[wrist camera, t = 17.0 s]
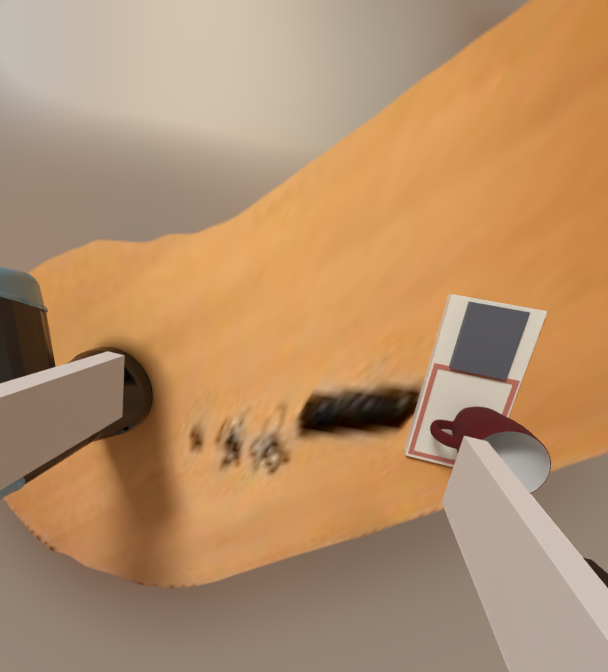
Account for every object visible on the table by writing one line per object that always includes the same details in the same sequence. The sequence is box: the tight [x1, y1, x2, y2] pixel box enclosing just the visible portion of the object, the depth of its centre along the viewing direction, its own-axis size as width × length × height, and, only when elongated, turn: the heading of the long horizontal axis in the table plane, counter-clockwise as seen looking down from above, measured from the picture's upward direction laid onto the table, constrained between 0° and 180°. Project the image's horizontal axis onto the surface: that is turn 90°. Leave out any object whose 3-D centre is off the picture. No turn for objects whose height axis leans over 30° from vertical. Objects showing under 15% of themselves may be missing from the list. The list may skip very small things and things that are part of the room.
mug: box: [430, 406, 551, 493], centre depth 35 cm, size 11×8×10 cm
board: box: [404, 294, 547, 467], centre depth 39 cm, size 12×24×2 cm, turn 170°
